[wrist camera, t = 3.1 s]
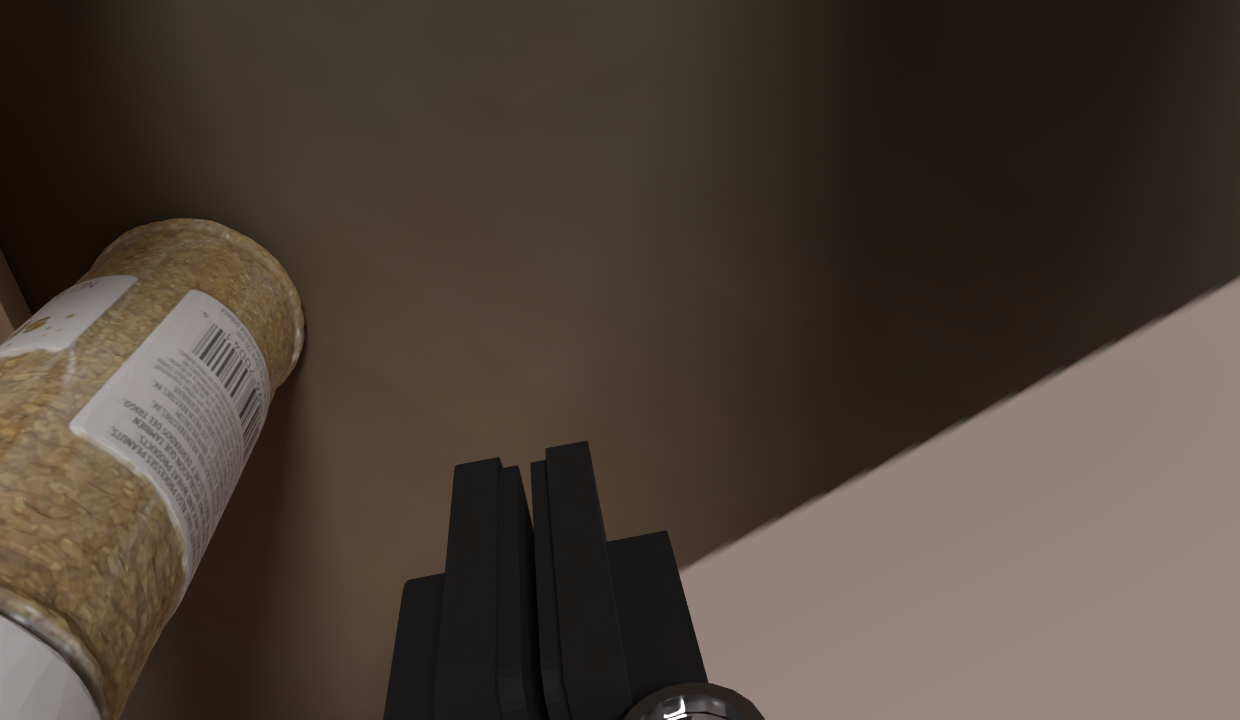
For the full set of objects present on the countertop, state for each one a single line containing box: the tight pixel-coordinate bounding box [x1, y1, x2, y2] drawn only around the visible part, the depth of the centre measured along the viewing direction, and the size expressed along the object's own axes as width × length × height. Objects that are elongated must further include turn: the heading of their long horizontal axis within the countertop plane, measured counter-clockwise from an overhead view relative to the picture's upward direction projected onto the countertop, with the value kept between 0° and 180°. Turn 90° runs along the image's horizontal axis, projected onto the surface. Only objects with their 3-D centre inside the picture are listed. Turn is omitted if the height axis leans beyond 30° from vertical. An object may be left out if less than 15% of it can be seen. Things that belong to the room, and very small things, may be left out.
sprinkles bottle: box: [0, 218, 305, 720], centre depth 14 cm, size 5×5×13 cm
